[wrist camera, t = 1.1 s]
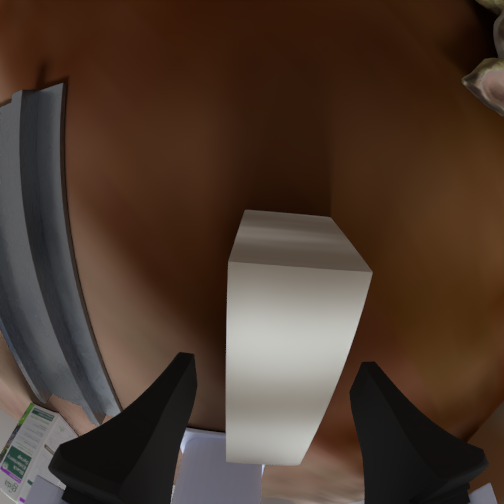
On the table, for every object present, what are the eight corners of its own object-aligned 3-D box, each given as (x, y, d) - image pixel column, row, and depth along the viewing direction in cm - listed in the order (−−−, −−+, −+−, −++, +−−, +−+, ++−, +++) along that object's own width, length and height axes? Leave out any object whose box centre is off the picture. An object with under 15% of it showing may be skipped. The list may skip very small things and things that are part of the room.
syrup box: (59, 412, 22) (12, 501, 9) (82, 439, 24) (46, 521, 11) (31, 401, 23) (-15, 478, 9) (53, 428, 25) (16, 501, 12)
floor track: (126, 417, 20) (119, 432, 18) (35, 383, 21) (26, 394, 19) (67, 83, 10) (45, 80, 9) (-30, 124, 11) (-47, 127, 9)
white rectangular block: (294, 390, 17) (299, 465, 12) (235, 386, 18) (226, 461, 12) (329, 216, 13) (372, 272, 7) (245, 208, 13) (228, 261, 7)
